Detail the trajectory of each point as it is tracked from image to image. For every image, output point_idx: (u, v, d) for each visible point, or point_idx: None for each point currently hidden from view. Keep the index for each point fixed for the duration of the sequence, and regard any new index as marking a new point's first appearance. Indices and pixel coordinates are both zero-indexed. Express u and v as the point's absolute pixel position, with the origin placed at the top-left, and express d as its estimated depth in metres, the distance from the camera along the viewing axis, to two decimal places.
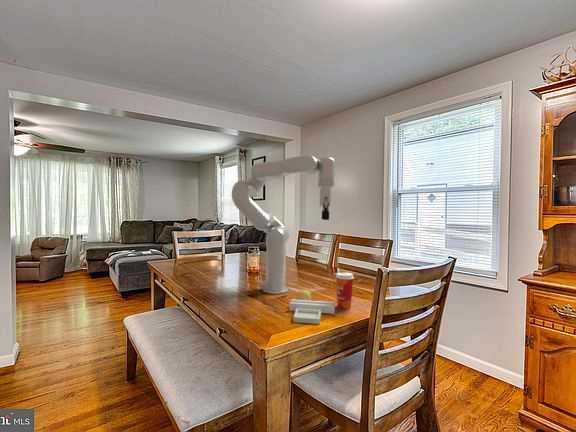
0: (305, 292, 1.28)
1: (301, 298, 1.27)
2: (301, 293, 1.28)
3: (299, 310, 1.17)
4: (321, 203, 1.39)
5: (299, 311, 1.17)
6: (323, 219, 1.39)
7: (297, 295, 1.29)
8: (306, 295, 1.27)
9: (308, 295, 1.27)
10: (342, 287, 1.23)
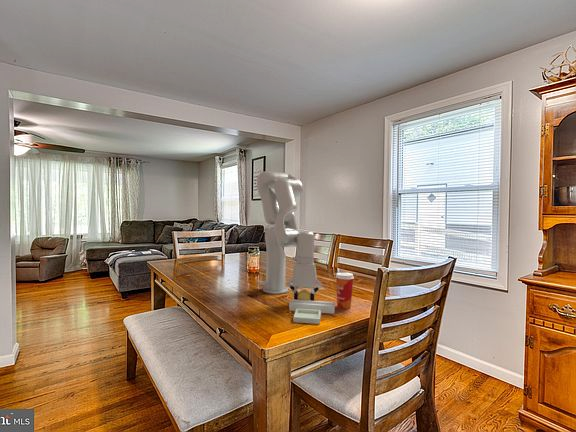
0: (305, 292, 1.28)
1: (301, 298, 1.27)
2: (301, 293, 1.28)
3: (299, 310, 1.17)
4: (315, 284, 1.26)
5: (299, 311, 1.17)
6: None
7: (297, 295, 1.29)
8: (306, 295, 1.27)
9: (308, 295, 1.27)
10: (342, 287, 1.23)
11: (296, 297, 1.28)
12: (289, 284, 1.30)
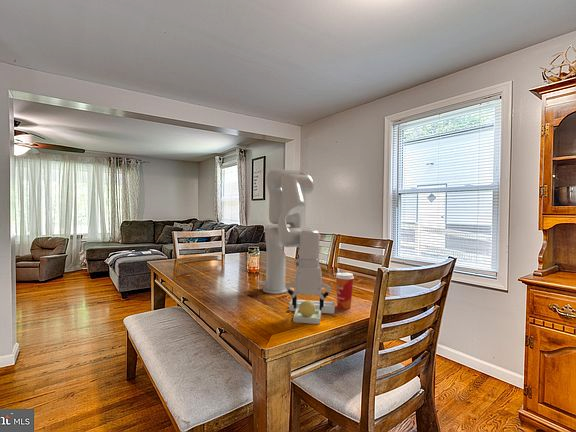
0: (308, 303, 1.11)
1: (304, 310, 1.10)
2: (303, 305, 1.11)
3: None
4: (321, 290, 1.10)
5: (299, 311, 1.17)
6: None
7: (299, 307, 1.12)
8: (309, 306, 1.10)
9: (312, 306, 1.11)
10: (342, 287, 1.23)
11: (295, 303, 1.12)
12: (288, 287, 1.13)
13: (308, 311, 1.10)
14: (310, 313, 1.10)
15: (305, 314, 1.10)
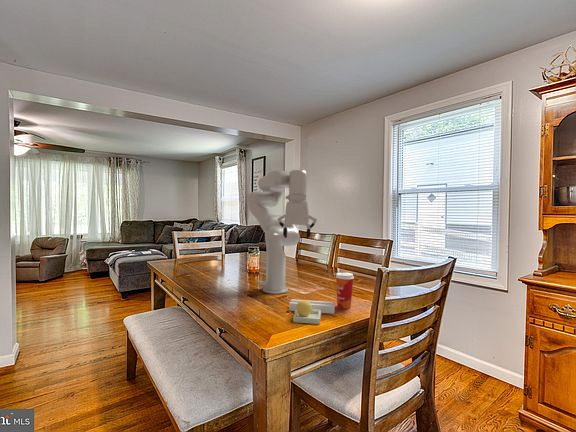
0: (302, 303, 1.11)
1: (300, 311, 1.10)
2: (298, 306, 1.11)
3: None
4: (307, 221, 1.28)
5: None
6: None
7: (296, 310, 1.13)
8: (304, 305, 1.10)
9: (306, 304, 1.11)
10: (342, 287, 1.23)
11: (285, 233, 1.30)
12: (279, 220, 1.31)
13: (305, 310, 1.10)
14: (307, 311, 1.10)
15: (303, 314, 1.10)
